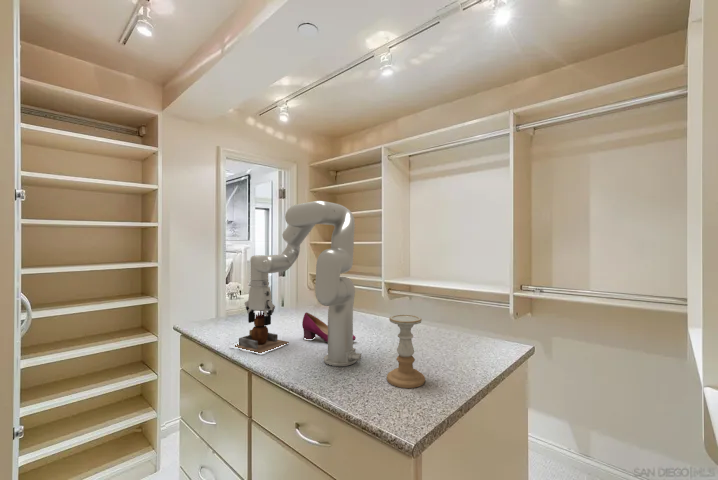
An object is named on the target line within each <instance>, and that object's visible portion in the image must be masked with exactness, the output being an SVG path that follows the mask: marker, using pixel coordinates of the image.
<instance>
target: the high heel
mask: <svg viewBox="0 0 718 480" xmlns="http://www.w3.org/2000/svg"><path fill="white" fill-rule="evenodd" d="M301 323H302V326H301V327H302V329H303V339H304V338H306V339H313V338H314V337H316V336H317V337H319V338H320V339H322V340H323V341H324V342H325V343H327V342H328V324H326V323H325V322H323V321H322V320H321V319H319V318H318V317H316V316H315V315H313V314H311V313H309V312H305V313H304V314H303V318H302V322H301ZM356 339H357V338H356V335H354V334H353V342H354V341H356Z"/></svg>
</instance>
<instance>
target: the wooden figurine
mask: <svg viewBox="0 0 718 480" xmlns="http://www.w3.org/2000/svg"><path fill="white" fill-rule="evenodd" d="M264 316H266V315H265V314H264V312H263V311H258V312H257V313H255V320H254V322H253V325H254V326H253V327H252V329H251V330H252V340H255V341H258V345H260V344H264V343H266V341H267V337H268V333H269V329H268V327H267V325H266V326H265V325H264Z"/></svg>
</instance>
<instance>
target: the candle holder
mask: <svg viewBox="0 0 718 480" xmlns="http://www.w3.org/2000/svg"><path fill="white" fill-rule="evenodd" d="M388 319H389V320H388V321H389V322H390V323H392V324H395V325H397V327H398V328H399V333H398V334H397V337H398V339H399V342H398V345H397V348H396V352H397V354H398V356H396V362H397V363H398V367H396V368H394V369H392V370H391V371H389V372H388V373H387V375H386V380H387V383H389V384H390V385H392V386H393V387H397V388H402V389H414V388H415V389H416V388H419V387H422V386H423V385H425V382H426V377H425V375H424V374H423V373H422V372H420V370H419V371H418V370H417V369H416V368H414V367H413V366H414V365H413V364H414V362H415V360H416V359H415V357H414V356H413V355H414V353H415V348H414V346H413V341H412V340H413V338H414V335H413V334H412V328H413V327H414V325H419V324H421V323H422V321H423V319H422V317H421V316H418V315H413V314H395V315H391V316H390V317H389V318H388Z"/></svg>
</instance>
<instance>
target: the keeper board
mask: <svg viewBox="0 0 718 480" xmlns="http://www.w3.org/2000/svg"><path fill="white" fill-rule="evenodd" d="M248 334H249V335H244V336H241V337H239V338H238V342H239V345H238V344H237V346H236V345H235V347H238V348H242V349H246V350H250V351H254V352H258V353H262V352H265V351H268V350H271V349H274V348H276V347H279V346H281V345H284V344H287V343H289V344H290V342H289V341H286V340H281V339H278V337H279V336H278V334H277V333H271V332H268V337H267V341H266V343H264V344H260V345H258V341H255V340H252V329H249V333H248Z"/></svg>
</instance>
